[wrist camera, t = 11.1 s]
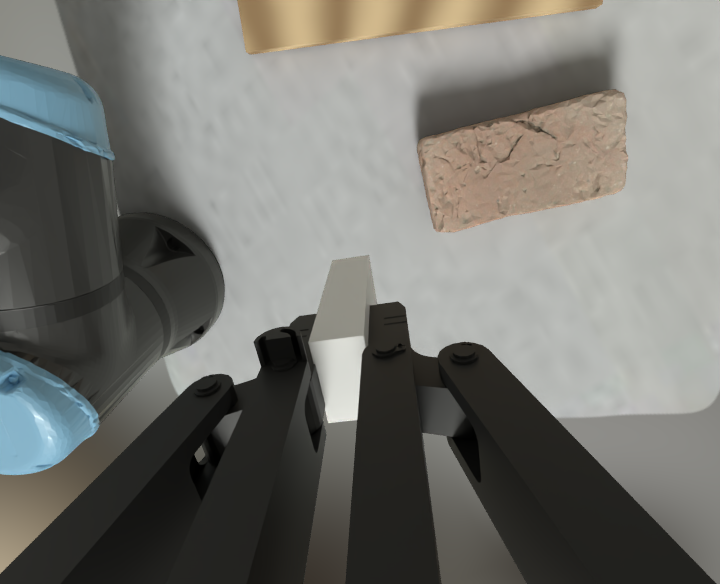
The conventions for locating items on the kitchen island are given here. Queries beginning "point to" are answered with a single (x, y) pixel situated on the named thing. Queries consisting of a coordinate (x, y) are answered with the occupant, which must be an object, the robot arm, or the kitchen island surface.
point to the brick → (526, 161)
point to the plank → (376, 18)
